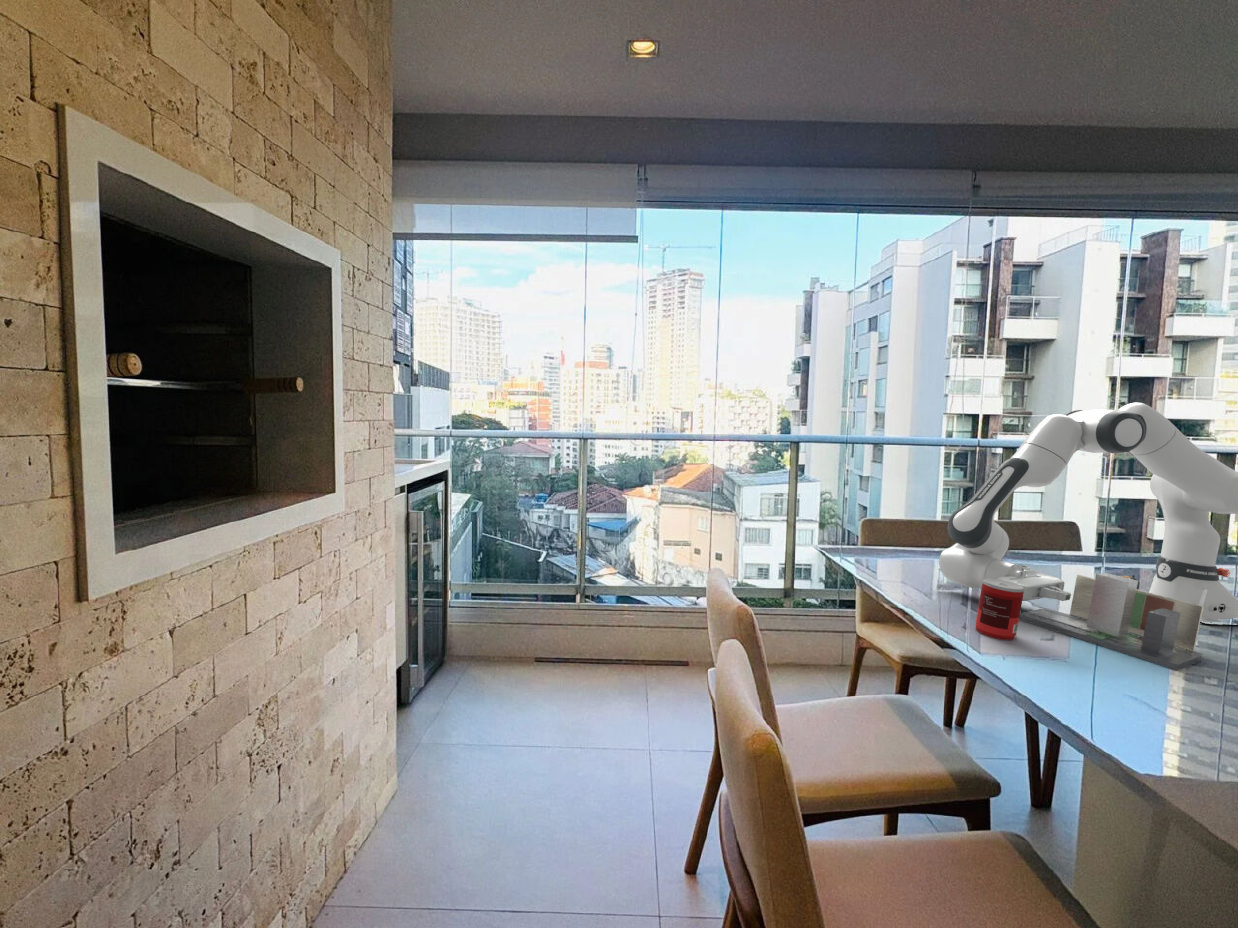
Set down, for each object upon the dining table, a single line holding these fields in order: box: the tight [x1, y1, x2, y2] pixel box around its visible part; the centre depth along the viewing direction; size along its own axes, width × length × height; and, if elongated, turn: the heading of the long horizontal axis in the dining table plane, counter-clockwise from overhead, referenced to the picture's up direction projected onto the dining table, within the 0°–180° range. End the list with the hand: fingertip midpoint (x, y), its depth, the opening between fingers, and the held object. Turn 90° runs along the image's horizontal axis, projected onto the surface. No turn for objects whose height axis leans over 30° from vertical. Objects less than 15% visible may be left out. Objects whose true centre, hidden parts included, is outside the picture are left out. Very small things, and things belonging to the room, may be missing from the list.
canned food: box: [974, 578, 1024, 641], centre depth 140 cm, size 8×8×11 cm
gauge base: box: [1019, 574, 1204, 671], centre depth 147 cm, size 30×21×10 cm
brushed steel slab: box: [1087, 572, 1139, 637], centre depth 146 cm, size 6×8×12 cm
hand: (1067, 597), depth 152 cm, fingers closed
